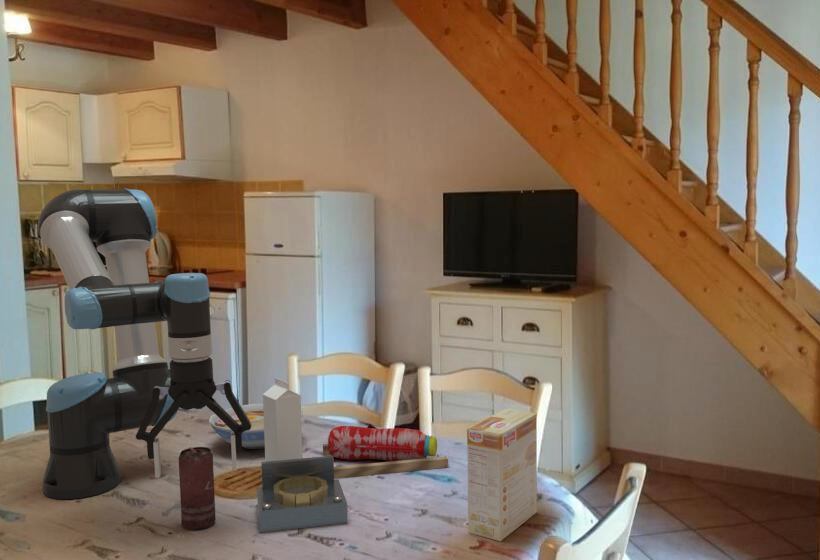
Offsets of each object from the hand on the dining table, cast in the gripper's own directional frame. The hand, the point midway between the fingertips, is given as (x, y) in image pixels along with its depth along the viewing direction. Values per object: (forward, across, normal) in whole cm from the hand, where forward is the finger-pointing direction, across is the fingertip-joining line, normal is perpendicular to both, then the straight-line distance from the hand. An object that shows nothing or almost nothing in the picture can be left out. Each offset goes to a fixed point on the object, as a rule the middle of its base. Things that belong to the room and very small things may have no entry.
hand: (196, 471), depth 138 cm
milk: (+10, +17, +18) cm, 27 cm away
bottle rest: (+10, +40, +26) cm, 48 cm away
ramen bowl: (+10, +12, +44) cm, 47 cm away
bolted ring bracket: (+10, +19, 0) cm, 21 cm away
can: (+10, 0, +1) cm, 10 cm away
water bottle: (+10, +40, +27) cm, 50 cm away
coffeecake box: (+11, +55, -13) cm, 57 cm away
